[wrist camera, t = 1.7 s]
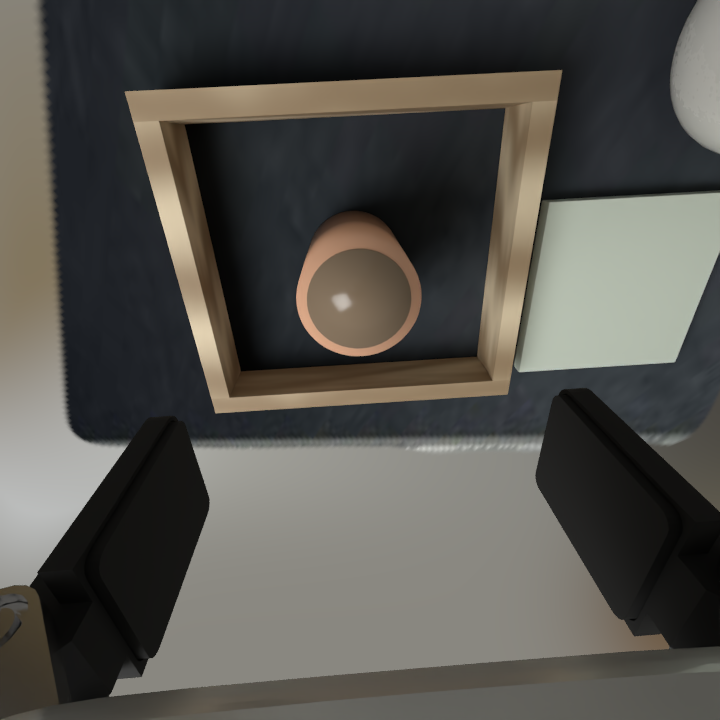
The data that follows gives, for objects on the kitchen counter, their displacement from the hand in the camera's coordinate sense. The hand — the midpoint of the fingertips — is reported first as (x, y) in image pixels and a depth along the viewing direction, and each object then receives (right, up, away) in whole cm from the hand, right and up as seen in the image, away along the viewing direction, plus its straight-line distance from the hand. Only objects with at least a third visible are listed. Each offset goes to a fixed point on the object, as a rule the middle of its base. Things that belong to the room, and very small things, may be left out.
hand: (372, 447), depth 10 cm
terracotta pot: (-1, +9, +16) cm, 18 cm away
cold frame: (-1, +9, +16) cm, 18 cm away
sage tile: (+17, +7, +17) cm, 26 cm away
